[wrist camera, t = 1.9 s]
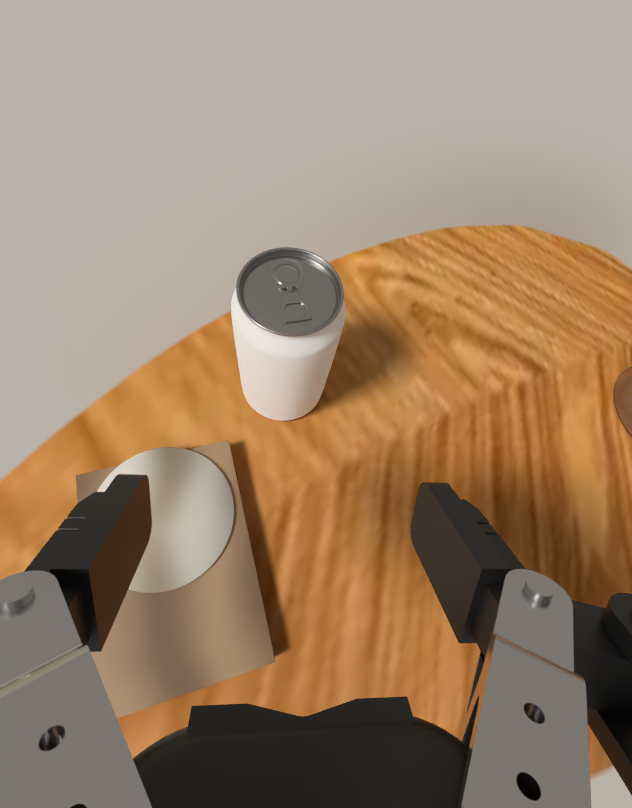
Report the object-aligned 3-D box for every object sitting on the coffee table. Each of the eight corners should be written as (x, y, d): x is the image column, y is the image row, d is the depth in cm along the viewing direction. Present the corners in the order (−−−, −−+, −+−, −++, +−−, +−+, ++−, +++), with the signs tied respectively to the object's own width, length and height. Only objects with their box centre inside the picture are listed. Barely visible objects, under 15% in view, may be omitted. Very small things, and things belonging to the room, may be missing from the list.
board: (229, 439, 29) (226, 432, 28) (274, 656, 24) (275, 663, 23) (85, 472, 27) (73, 467, 26) (104, 716, 22) (91, 728, 21)
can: (312, 344, 33) (335, 235, 22) (331, 414, 31) (366, 333, 20) (236, 355, 32) (219, 246, 21) (249, 429, 30) (238, 351, 19)
